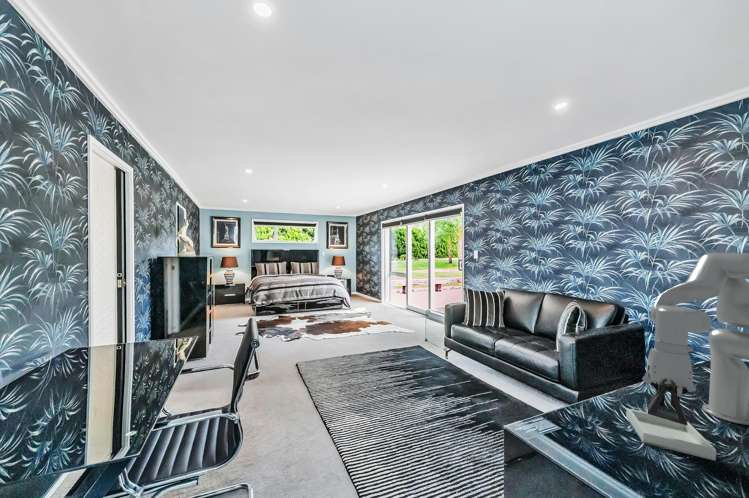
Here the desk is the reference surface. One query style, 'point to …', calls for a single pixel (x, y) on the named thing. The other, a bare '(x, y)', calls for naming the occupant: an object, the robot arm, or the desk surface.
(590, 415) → the desk surface
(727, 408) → the robot arm
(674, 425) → the tray
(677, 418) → the phone stand
